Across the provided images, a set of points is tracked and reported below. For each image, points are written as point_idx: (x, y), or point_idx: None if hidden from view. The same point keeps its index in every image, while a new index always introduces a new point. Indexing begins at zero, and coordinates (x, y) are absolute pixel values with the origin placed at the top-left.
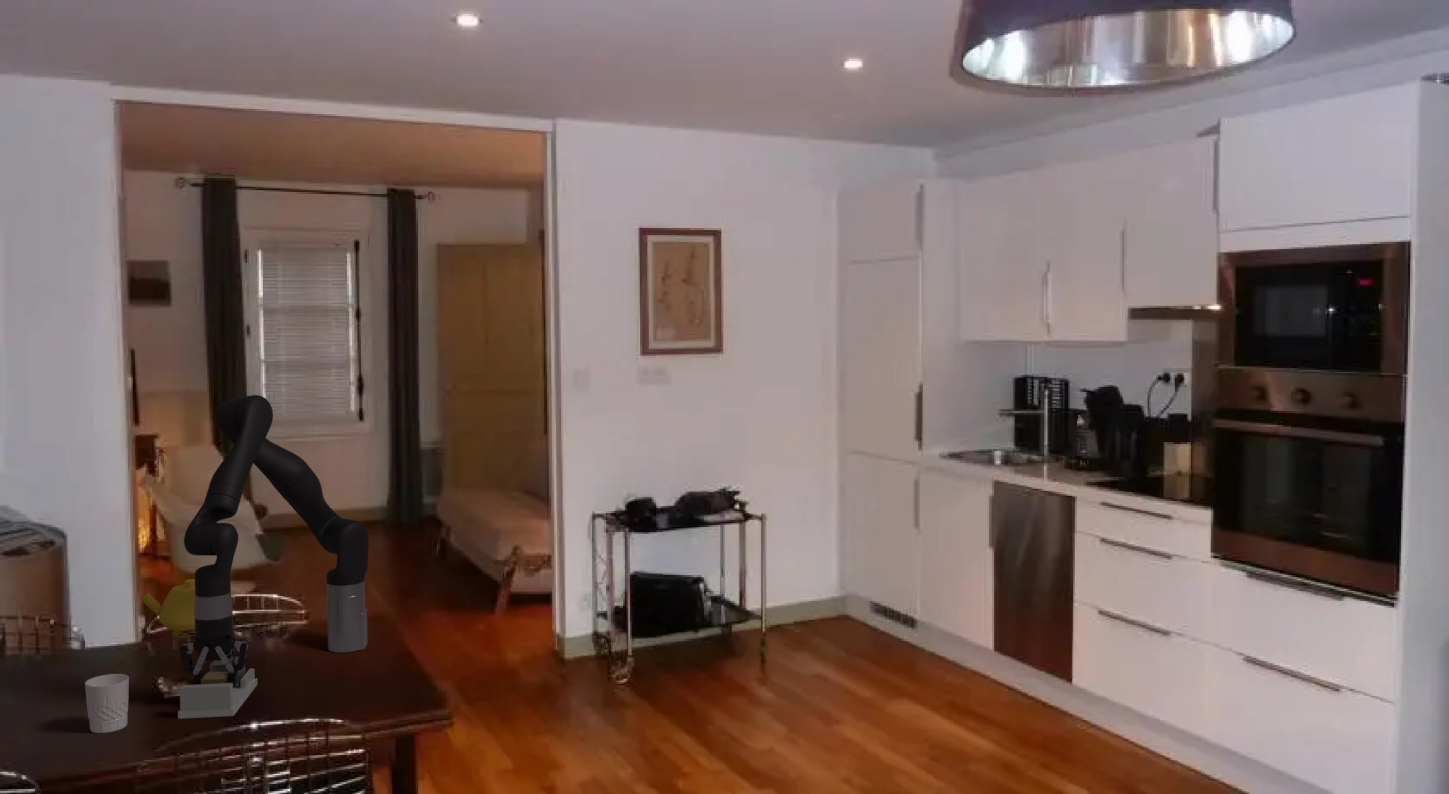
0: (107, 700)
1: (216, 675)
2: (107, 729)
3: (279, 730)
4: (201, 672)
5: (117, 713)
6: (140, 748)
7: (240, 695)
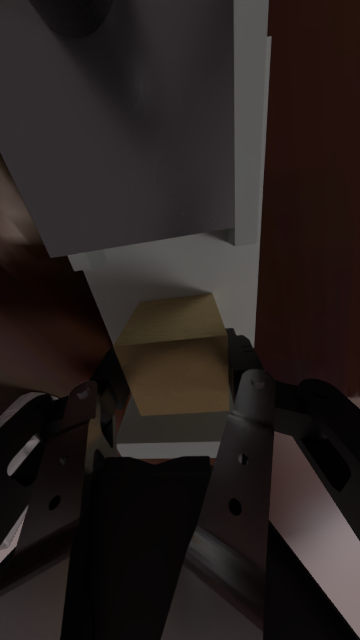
0: None
1: (176, 382)
2: None
3: None
4: (109, 394)
5: None
6: (152, 460)
7: (245, 310)
